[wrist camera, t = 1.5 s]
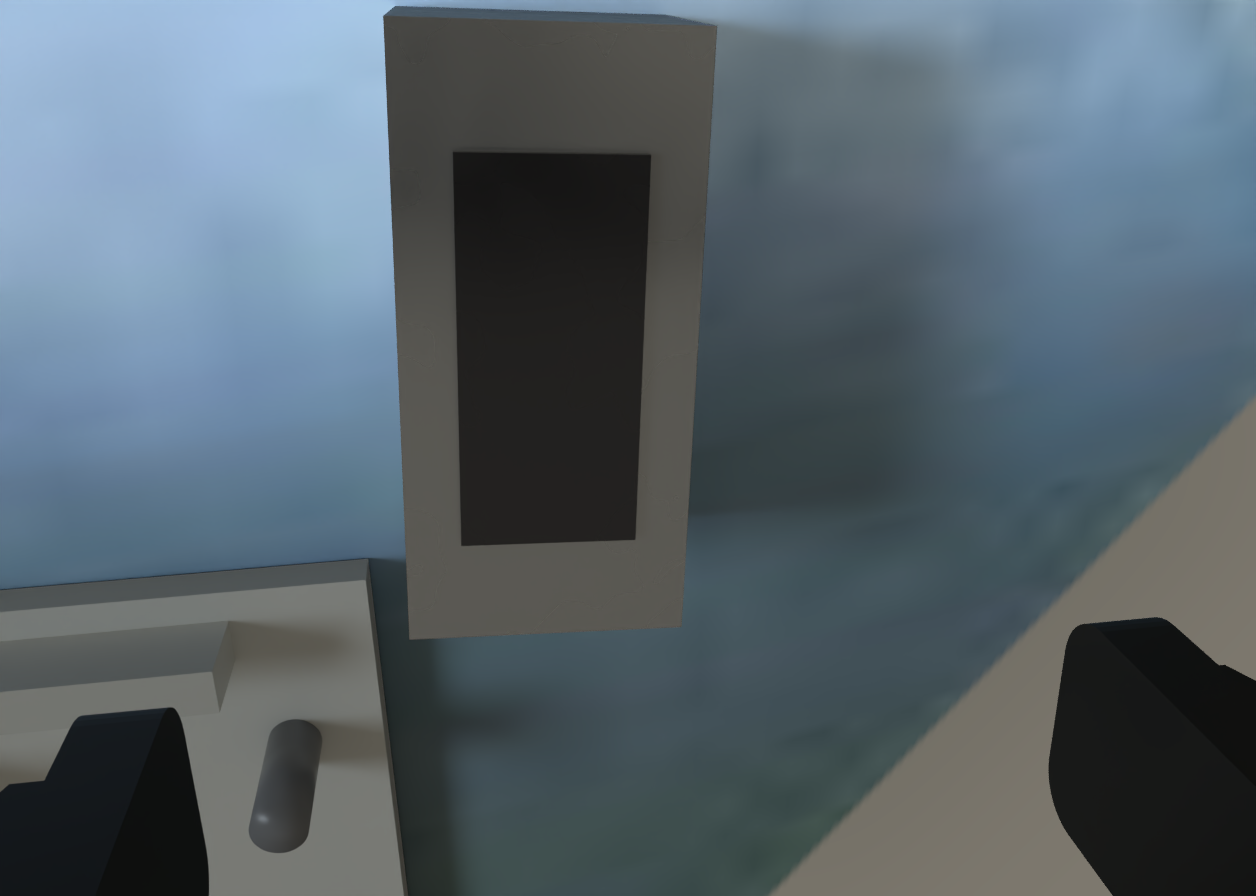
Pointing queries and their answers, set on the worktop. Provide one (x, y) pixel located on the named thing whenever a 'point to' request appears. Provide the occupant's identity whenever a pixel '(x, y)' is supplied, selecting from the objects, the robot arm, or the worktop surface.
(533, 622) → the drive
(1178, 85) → the worktop surface
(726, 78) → the worktop surface
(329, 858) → the tray
